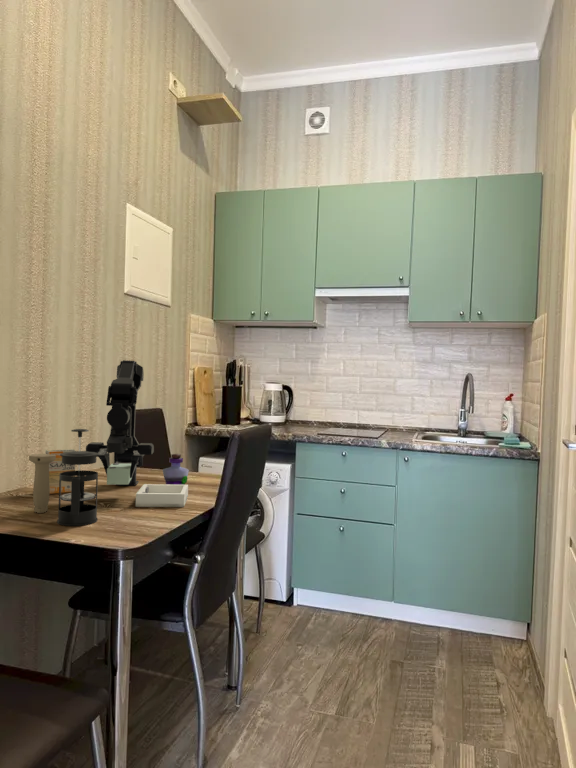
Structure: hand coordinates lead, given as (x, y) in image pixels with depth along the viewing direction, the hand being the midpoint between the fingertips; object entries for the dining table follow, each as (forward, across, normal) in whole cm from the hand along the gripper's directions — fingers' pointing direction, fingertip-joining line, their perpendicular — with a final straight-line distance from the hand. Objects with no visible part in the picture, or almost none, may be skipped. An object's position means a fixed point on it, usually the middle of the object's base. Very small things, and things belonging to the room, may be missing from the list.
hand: (119, 477), depth 163 cm
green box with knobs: (+1, 0, 0) cm, 1 cm away
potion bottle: (+7, +15, +13) cm, 21 cm away
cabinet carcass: (+6, +13, -2) cm, 15 cm away
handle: (+7, -17, -16) cm, 24 cm away
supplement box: (+7, -20, +10) cm, 23 cm away
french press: (+7, -5, -26) cm, 27 cm away
